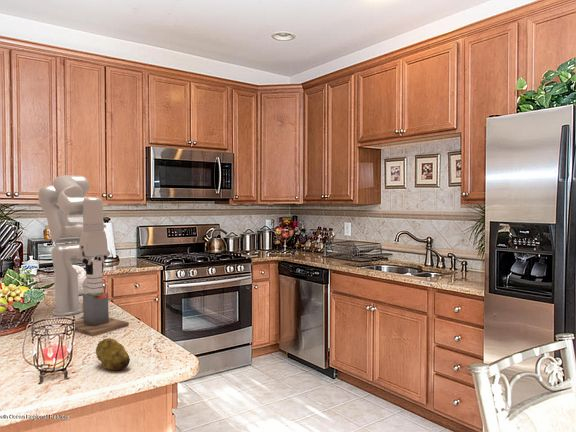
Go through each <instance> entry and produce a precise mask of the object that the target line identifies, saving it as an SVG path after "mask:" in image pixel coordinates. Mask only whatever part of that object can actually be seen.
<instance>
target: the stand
mask: <svg viewBox="0 0 576 432" xmlns="http://www.w3.org/2000/svg"><path fill="white" fill-rule="evenodd" d="M82 308H83V311H82V313H83V317H82V319H79V320H75V321H74V322H75V331H74V332H76V331H77V332H76V333H79V332H80V333H79V334H82V335H85V336H86V335H87V336H90V337H94V336H95V337H96V336H99V335H102V334H105V333H108V332H112V331H116V330H120V329H122V328H126V327H129V325H130V324H129V321H124V320H121V319H116V318H113V317H110V316H109V315H110V314H109V293H107V292H103V294H100V295H95V296H92V295H88V294H82Z"/></svg>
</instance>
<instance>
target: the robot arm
mask: <svg viewBox="0 0 576 432" xmlns="http://www.w3.org/2000/svg"><path fill="white" fill-rule="evenodd" d="M89 189H90V182H89V180H88V179H87V178H86V176H84V175H70V174H69V175H68V174H66V175H65V174H64V175H58V176H57V177H55V178H54V180H53V182H52V184H51V185H44V186H42V187H40V188H39V190H38V193H37V194H38V197H37V198H38V202H39V205H40V208H41V210H42V211H43V213H44V214H45V215H44V216H45V217H46V220H47V224H48V229H49V233H50V234H49V235H50V237H51V240H52V241H53V242H54V243H57V244H56V245H55V246H53V247H52V249H51V260H52V264H53V265H52V266H53V271H54V273H53V274H54V296H55V297H54V298H55V302H54V303H53V306H54V307H55V308H54V310H52V311H51V315H53V316H55V317H59V316H60V317H62V316H63V317H65V316H72V315H76V314H80V313H83V307H81V306H79V305H80V304H79V295H78V274H77V271H76V270H75V269H74V268H73V267H72V265H76V264H83V265H85V271H86V274H88V275H92V265H91V260H94V259H93V258H94V257H96V258H97V259H96V260H102V274H103V273H104V263H105V262H106V260H107V259H108V257H110V256H111V252H110V251H109V248H108V246H109V245H108V240H107V239H108V238H107V233H106V231H105V229H106V228H107V225H106V224H104V202H103V199H102V198H101V197H95V196H89V197H88V196H85V195H87V193H88V192H89ZM68 216H71V217H72V216H74V217H76V216H82V221H69V218H68Z"/></svg>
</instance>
